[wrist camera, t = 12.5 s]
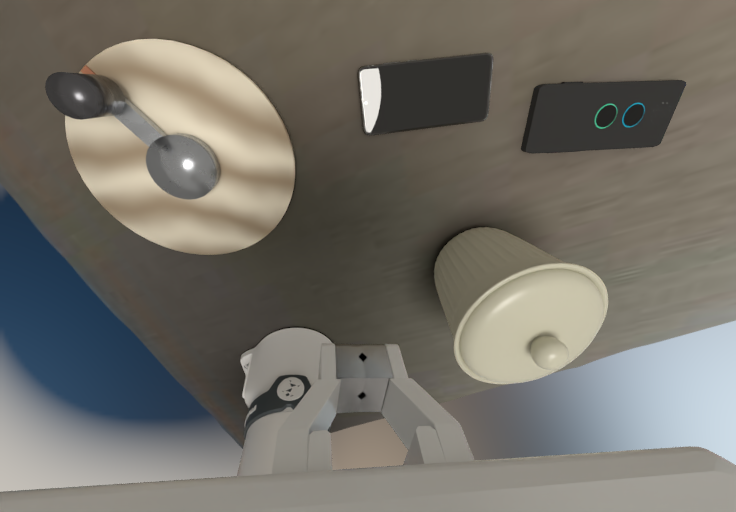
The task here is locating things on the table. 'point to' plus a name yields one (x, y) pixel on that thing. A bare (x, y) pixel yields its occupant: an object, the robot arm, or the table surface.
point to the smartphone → (425, 93)
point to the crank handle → (139, 133)
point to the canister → (515, 306)
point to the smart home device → (599, 115)
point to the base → (197, 118)
